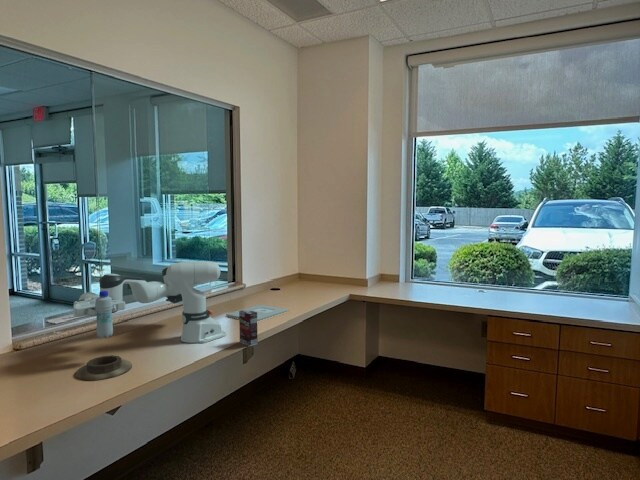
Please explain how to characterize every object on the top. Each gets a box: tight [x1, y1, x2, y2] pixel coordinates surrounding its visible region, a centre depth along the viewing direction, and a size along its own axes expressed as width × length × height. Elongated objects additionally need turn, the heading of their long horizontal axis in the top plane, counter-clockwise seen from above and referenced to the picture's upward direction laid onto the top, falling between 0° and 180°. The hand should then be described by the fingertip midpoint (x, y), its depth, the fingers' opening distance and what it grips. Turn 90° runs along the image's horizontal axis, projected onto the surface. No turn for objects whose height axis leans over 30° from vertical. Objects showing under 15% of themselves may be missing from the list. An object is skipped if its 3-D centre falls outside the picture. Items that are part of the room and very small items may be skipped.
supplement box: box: [238, 308, 258, 347], centre depth 200 cm, size 9×5×16 cm, turn 47°
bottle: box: [95, 291, 114, 339], centre depth 176 cm, size 7×7×20 cm
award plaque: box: [225, 304, 290, 321], centre depth 256 cm, size 25×30×2 cm
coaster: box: [75, 355, 133, 382], centre depth 167 cm, size 20×20×4 cm
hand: (104, 311), depth 176 cm, fingers closed on bottle, 6 cm apart
